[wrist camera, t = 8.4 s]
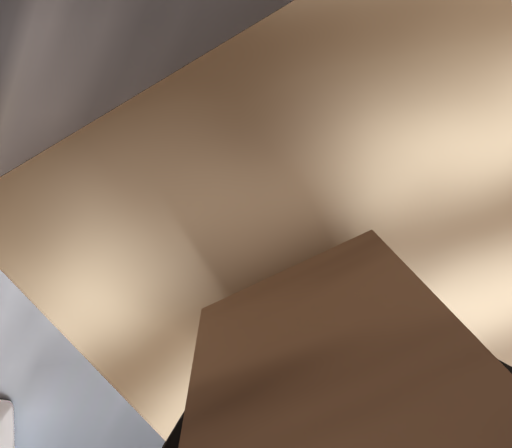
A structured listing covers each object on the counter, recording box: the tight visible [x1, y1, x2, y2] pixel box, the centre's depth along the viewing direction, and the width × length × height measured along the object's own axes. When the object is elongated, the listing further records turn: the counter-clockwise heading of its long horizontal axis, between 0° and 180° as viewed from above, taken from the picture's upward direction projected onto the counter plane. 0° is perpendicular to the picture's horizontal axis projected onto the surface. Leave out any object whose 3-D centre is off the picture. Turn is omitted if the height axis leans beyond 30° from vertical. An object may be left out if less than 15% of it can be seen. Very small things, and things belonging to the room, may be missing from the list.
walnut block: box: [178, 230, 512, 448], centre depth 7 cm, size 5×5×6 cm
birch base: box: [0, 0, 512, 441], centre depth 12 cm, size 16×16×2 cm
